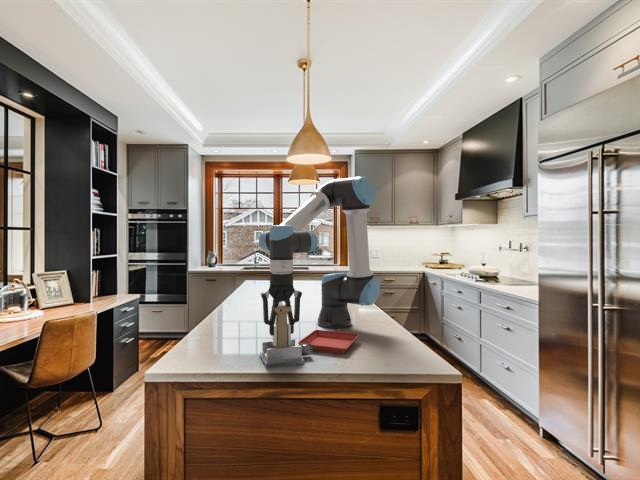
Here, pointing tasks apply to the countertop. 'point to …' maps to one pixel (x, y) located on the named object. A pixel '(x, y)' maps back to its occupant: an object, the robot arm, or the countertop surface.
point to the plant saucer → (329, 341)
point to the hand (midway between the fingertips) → (281, 344)
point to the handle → (282, 325)
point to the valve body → (284, 354)
